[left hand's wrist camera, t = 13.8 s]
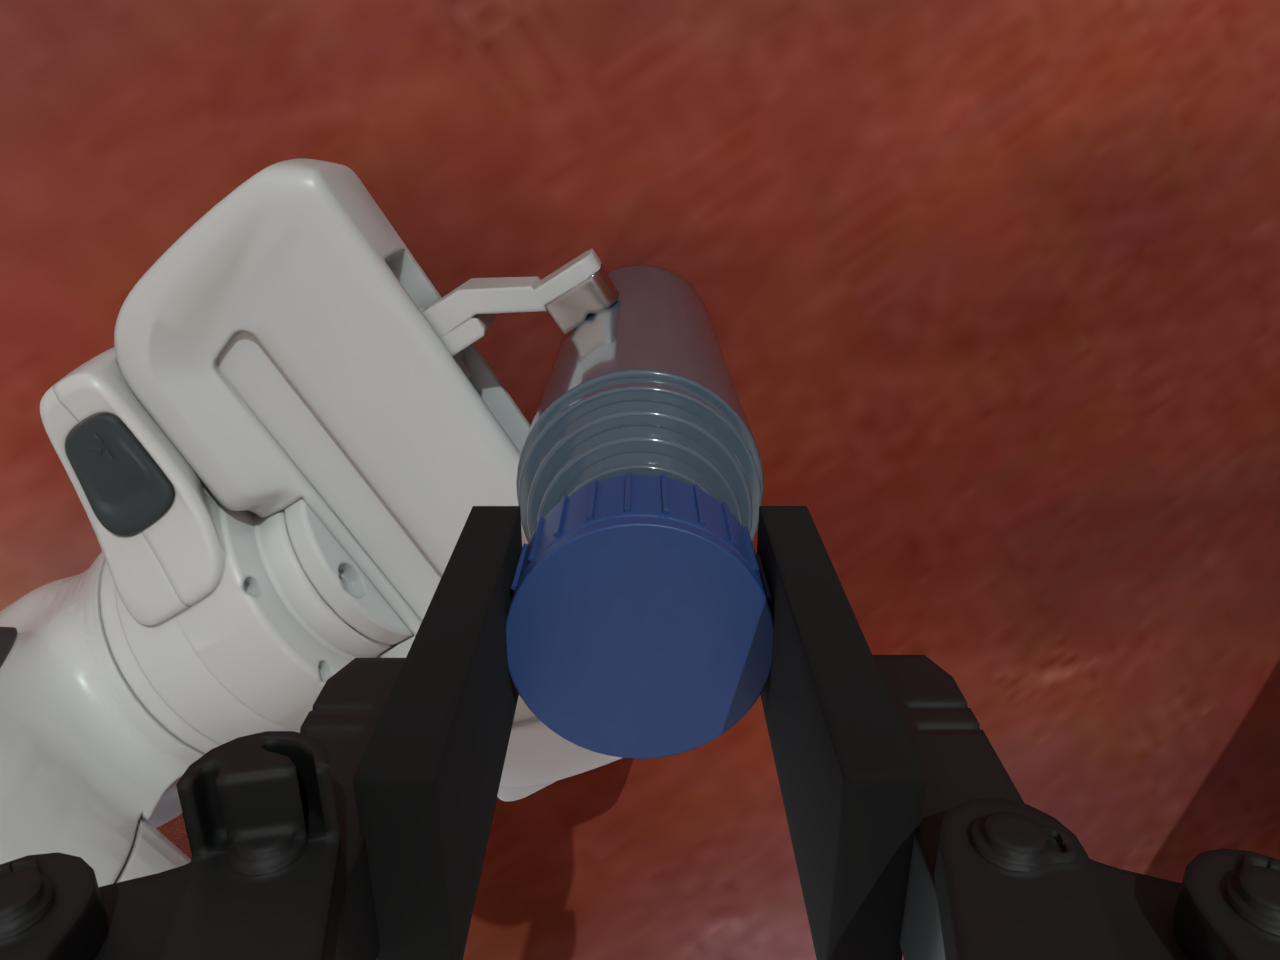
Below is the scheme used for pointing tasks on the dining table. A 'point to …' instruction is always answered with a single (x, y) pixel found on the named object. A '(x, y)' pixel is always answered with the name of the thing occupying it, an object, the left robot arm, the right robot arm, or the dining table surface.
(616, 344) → the bottle
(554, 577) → the cap
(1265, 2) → the dining table surface
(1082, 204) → the dining table surface
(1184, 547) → the dining table surface
